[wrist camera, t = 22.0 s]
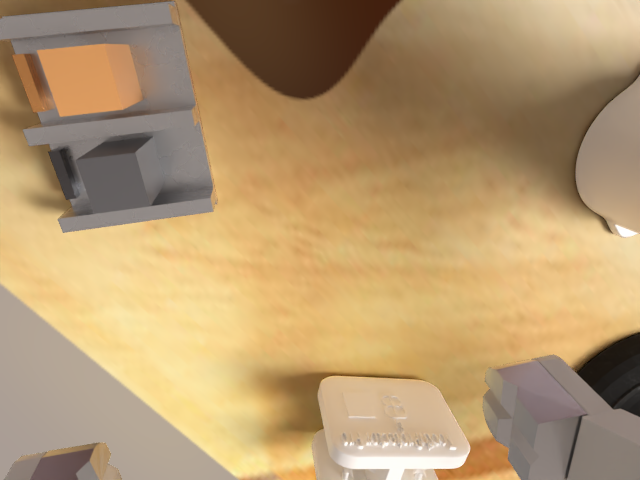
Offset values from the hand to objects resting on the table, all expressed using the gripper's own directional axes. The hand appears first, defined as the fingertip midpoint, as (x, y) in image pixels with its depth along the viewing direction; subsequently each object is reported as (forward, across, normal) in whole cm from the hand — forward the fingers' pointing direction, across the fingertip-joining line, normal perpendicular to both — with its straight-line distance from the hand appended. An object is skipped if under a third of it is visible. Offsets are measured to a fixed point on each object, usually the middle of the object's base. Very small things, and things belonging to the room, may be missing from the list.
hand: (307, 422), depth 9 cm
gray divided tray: (+31, +11, -3) cm, 33 cm away
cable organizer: (+31, -8, +34) cm, 47 cm away
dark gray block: (+30, +11, 0) cm, 32 cm away
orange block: (+30, +11, -6) cm, 33 cm away
